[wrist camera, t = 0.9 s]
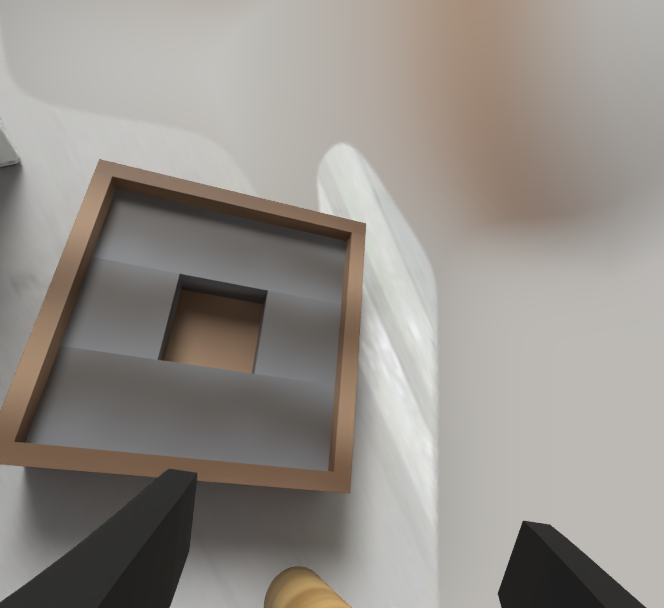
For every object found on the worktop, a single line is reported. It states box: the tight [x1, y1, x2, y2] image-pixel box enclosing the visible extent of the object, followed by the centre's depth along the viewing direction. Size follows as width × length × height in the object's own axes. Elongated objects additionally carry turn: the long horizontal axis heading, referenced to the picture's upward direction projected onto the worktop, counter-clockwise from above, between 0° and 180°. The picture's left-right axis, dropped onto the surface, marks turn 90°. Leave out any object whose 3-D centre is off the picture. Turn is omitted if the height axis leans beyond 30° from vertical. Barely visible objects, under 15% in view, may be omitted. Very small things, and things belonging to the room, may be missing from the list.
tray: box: [0, 159, 366, 493], centre depth 21 cm, size 14×14×4 cm
